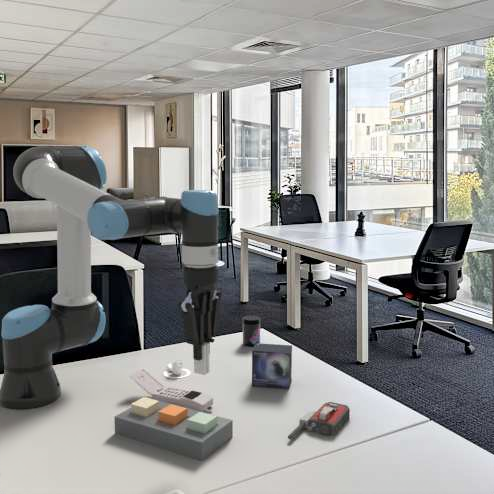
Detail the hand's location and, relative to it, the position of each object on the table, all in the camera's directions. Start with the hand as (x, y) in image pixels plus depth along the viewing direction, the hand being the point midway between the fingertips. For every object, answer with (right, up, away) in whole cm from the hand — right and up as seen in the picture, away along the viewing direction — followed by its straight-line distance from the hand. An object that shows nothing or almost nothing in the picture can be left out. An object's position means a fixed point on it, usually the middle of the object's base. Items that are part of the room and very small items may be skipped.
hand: (201, 372), depth 127 cm
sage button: (0, -15, +2) cm, 15 cm away
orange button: (-7, -14, +6) cm, 17 cm away
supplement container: (+11, -6, +71) cm, 72 cm away
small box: (+17, -11, +37) cm, 42 cm away
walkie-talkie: (+27, -16, +10) cm, 33 cm away
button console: (-7, -16, +7) cm, 18 cm away
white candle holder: (-9, -10, +47) cm, 49 cm away
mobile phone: (-9, -13, +25) cm, 29 cm away
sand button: (-14, -13, +10) cm, 22 cm away
